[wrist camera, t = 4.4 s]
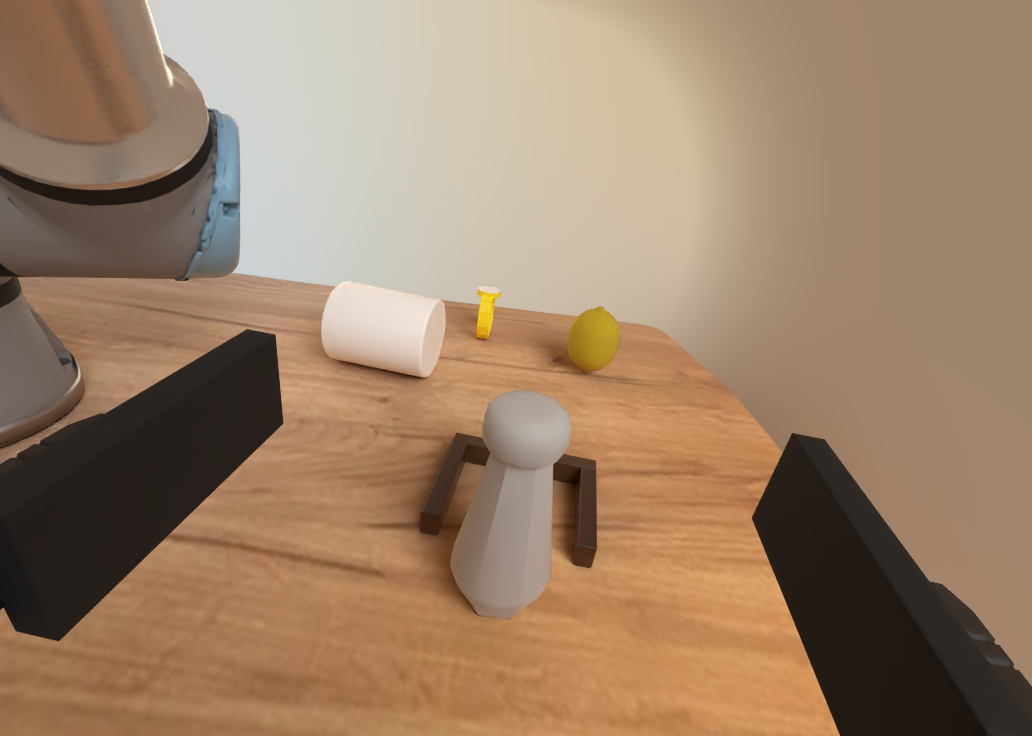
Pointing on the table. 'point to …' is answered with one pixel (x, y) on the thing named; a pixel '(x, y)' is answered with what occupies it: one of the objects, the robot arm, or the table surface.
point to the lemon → (593, 339)
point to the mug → (383, 328)
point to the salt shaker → (512, 505)
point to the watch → (486, 310)
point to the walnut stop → (563, 470)
